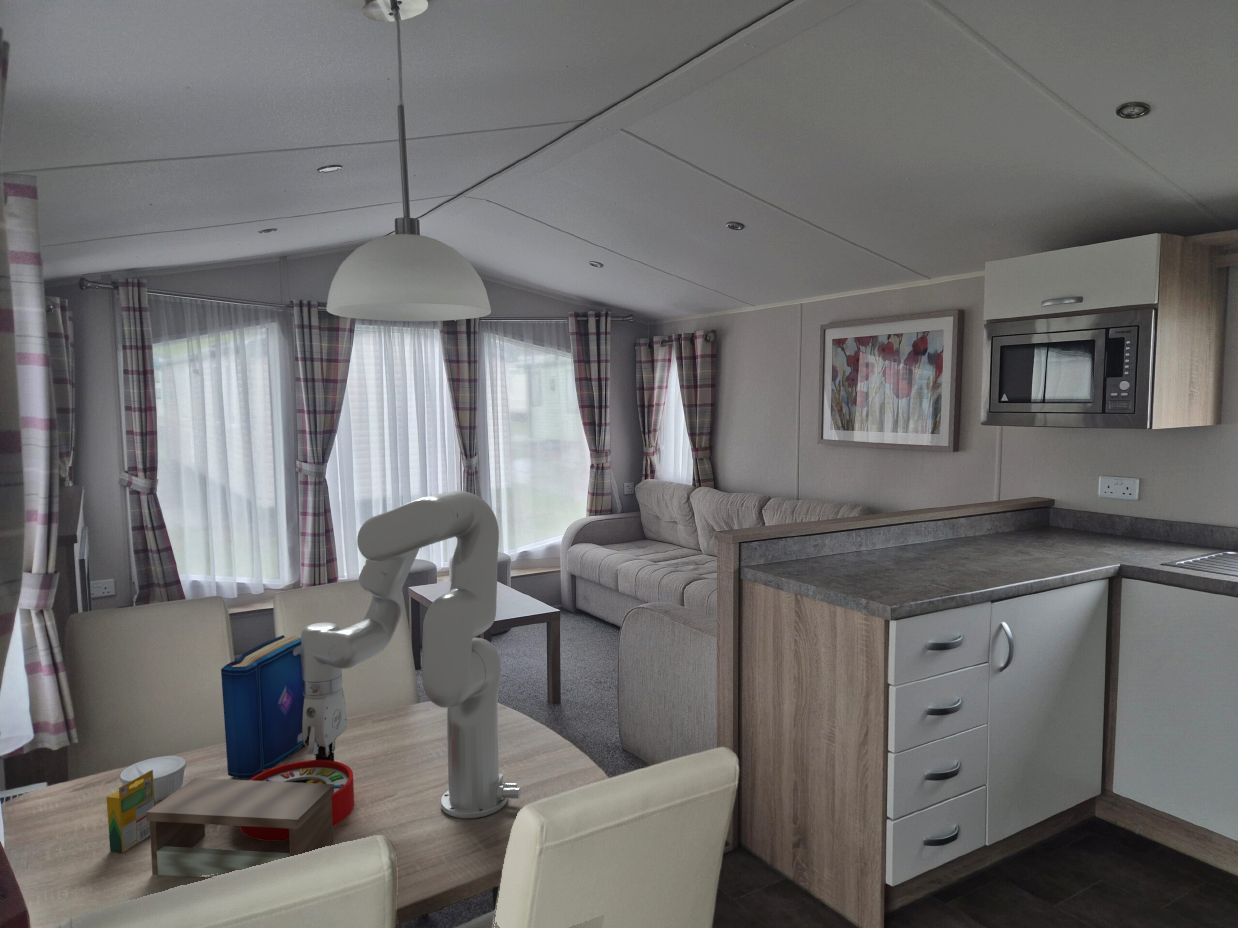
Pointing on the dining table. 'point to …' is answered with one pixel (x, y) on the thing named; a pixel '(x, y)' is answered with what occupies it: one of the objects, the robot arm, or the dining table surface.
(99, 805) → the dining table surface
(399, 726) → the dining table surface
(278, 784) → the walnut overhang
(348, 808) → the toy clock
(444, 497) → the robot arm
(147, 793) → the crayon box
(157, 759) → the ramekin
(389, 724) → the dining table surface
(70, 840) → the dining table surface
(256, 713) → the book
